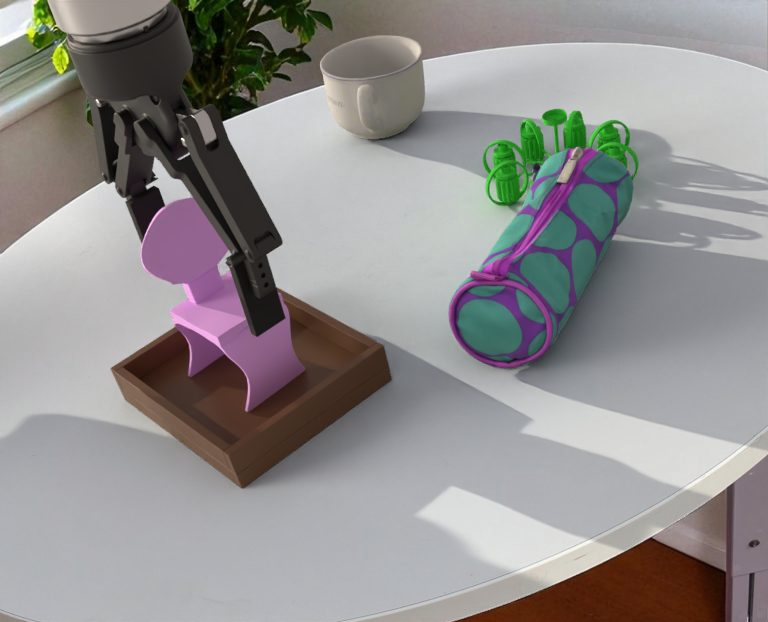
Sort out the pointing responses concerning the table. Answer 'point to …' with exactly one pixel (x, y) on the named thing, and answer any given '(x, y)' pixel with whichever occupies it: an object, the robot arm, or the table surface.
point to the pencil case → (542, 259)
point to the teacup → (375, 85)
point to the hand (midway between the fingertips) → (216, 295)
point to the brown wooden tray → (230, 390)
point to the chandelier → (535, 150)
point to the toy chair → (215, 302)
